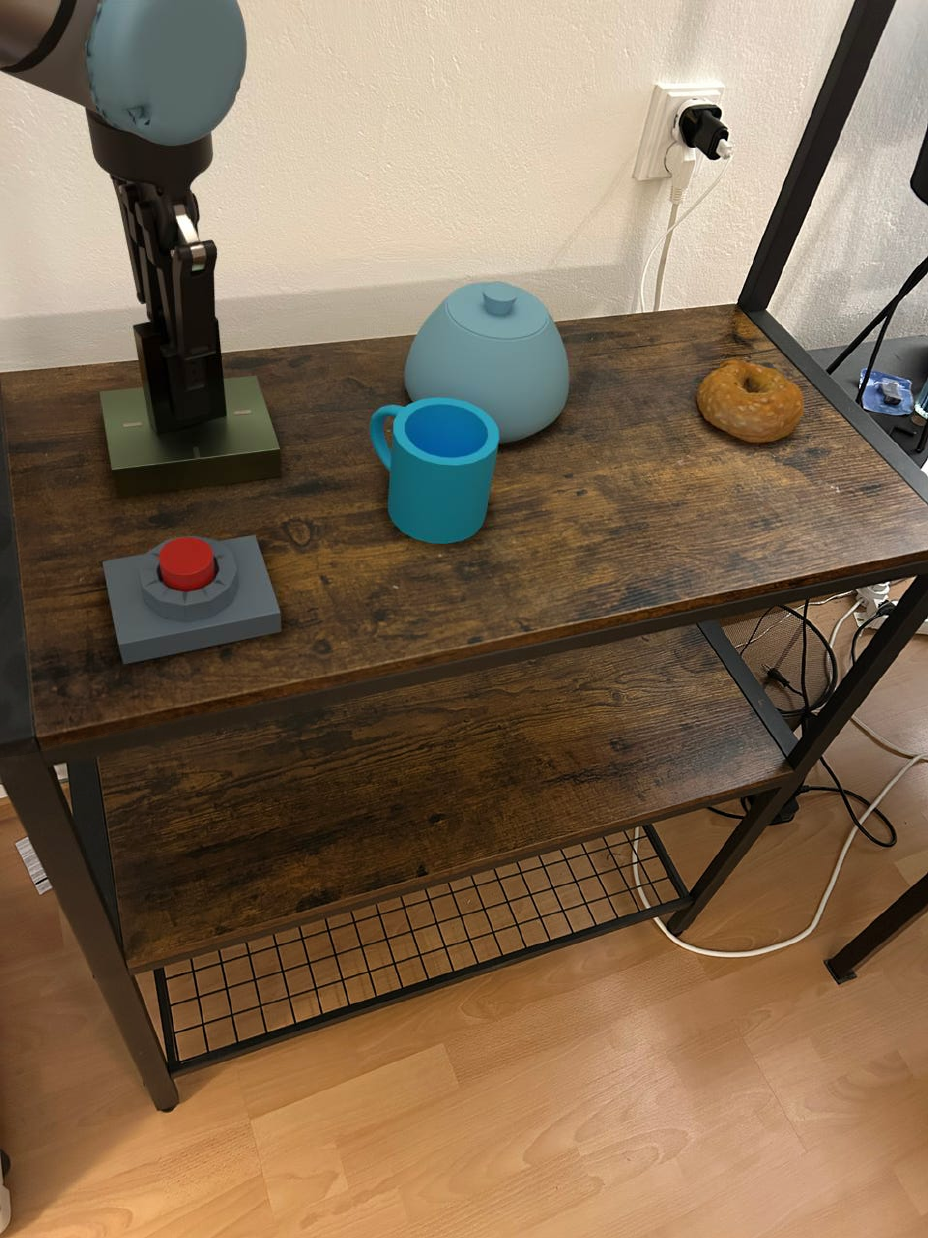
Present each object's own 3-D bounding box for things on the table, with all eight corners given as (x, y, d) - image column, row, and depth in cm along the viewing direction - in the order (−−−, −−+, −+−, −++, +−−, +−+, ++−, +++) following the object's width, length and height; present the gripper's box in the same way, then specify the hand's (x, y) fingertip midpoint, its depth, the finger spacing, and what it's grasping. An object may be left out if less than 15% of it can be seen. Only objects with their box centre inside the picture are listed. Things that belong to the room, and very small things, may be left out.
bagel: (802, 400, 96) (821, 359, 93) (785, 464, 89) (805, 422, 86) (706, 369, 98) (721, 328, 94) (682, 430, 91) (697, 388, 87)
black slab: (156, 435, 78) (140, 334, 71) (148, 422, 78) (131, 321, 71) (227, 415, 80) (218, 316, 73) (218, 403, 81) (208, 304, 74)
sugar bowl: (591, 397, 92) (619, 287, 84) (508, 477, 84) (530, 363, 75) (461, 335, 97) (475, 225, 88) (370, 404, 88) (375, 289, 79)
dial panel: (118, 499, 77) (111, 468, 74) (105, 419, 83) (98, 388, 80) (281, 477, 80) (280, 447, 78) (257, 402, 86) (256, 372, 84)
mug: (506, 512, 81) (521, 434, 75) (438, 559, 76) (448, 480, 70) (404, 440, 85) (410, 362, 79) (335, 481, 81) (335, 401, 75)
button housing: (123, 664, 66) (113, 627, 63) (107, 581, 71) (97, 543, 68) (281, 632, 70) (279, 595, 67) (256, 554, 74) (253, 516, 71)
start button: (166, 596, 66) (163, 578, 65) (157, 559, 68) (154, 541, 67) (219, 586, 67) (217, 569, 66) (209, 550, 69) (207, 532, 68)
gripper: (253, 140, 58) (269, 446, 76) (159, 46, 66) (193, 345, 84) (131, 158, 55) (177, 474, 73) (47, 58, 63) (107, 366, 80)
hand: (186, 404), depth 78 cm, fingers closed on black slab, 2 cm apart
